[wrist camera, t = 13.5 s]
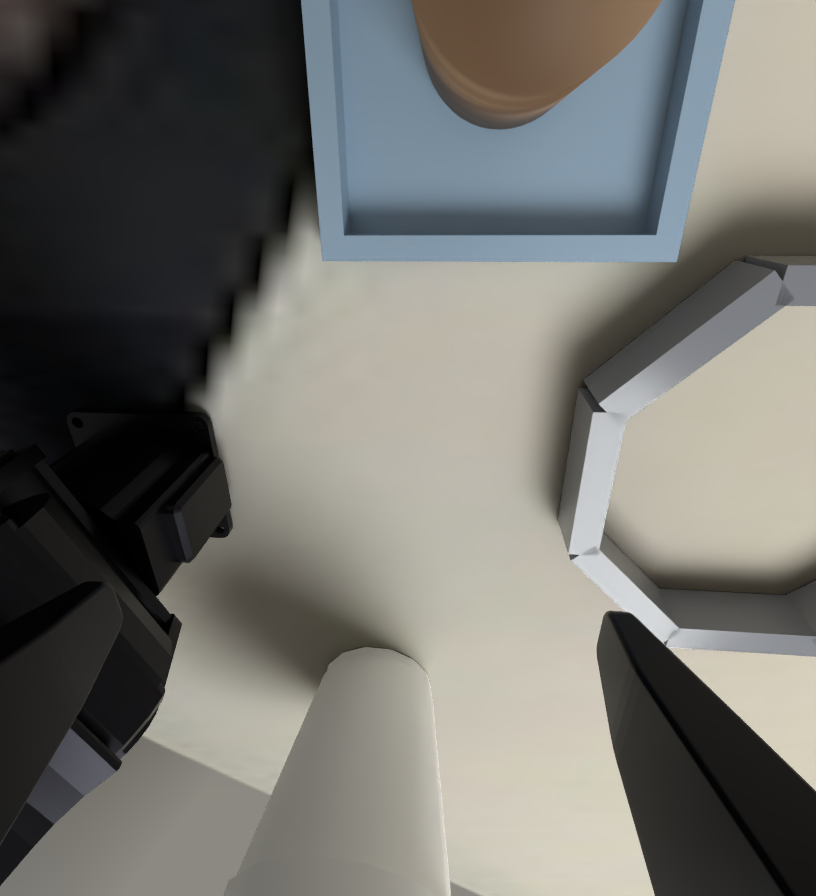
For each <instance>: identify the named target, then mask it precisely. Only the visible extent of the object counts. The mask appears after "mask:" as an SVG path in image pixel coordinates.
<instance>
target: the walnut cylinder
mask: <svg viewBox="0 0 816 896" xmlns="http://www.w3.org/2000/svg"><path fill="white" fill-rule="evenodd" d="M411 1H412V5H413V10H414V15H415V19H416V24H417V28H418V33H419V38H420V42H421V47H422V51H423V56H424V60H425V64H426V68H427V71H428V74H429V76H430V79H431V81H432V84H433V86H434V88H435V89H436V91H437V93H438V95H439V96H440V97H441V99H442V100H443V101H444V103H445V104H446V105H447V106H448V107H449V108H450V109H451V110H452V111H453V112H454V113H455V114H457V115H458V116H459V117H460V118H462V119H464V120H465V121H467V122H469V123H471V124H473V125H476V126H479V127H482V128H487V129H497V130H502V129H511V128H515V127H519V126H523V125H525V124H527V123H530V122H532V121H534V120H536V119H537V118H539V117H541V116H542V115H544V114H545V113H546V112H548V111H549V110H550V109H552V108H553V107H554V106H555V105H557V104H558V103H559V102H560V101H561V100H563V99H564V98H565V97H566V96H568V95H569V94H570V93H571V92H572V91H574V90H575V89H576V88H577V87H579V86H580V85H581V84H582V83H583V82H585V81H586V80H587V79H588V78H590V77H591V76H592V75H593V74H595V73H596V72H597V71H598V70H599V69H601V68H602V67H603V66H604V65H606V64H607V63H608V62H609V61H610V60H612V59H613V58H614V57H615V56H617V55H618V54H619V53H620V52H621V51H622V50H623V49H624V48H625V47H626V46H627V45H628V44H629V43H630V42H631V41H632V40H633V39H634V38H635V37H636V35H637V34H638V33H639V32H640V31H641V30H642V28H643V27H644V26H645V25H646V24H647V22H648V21H649V19H650V18H651V16H652V15H653V14H654V12H655V11H656V9H657V8H658V6H659V5H660V3H661V1H662V0H411Z"/></svg>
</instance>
